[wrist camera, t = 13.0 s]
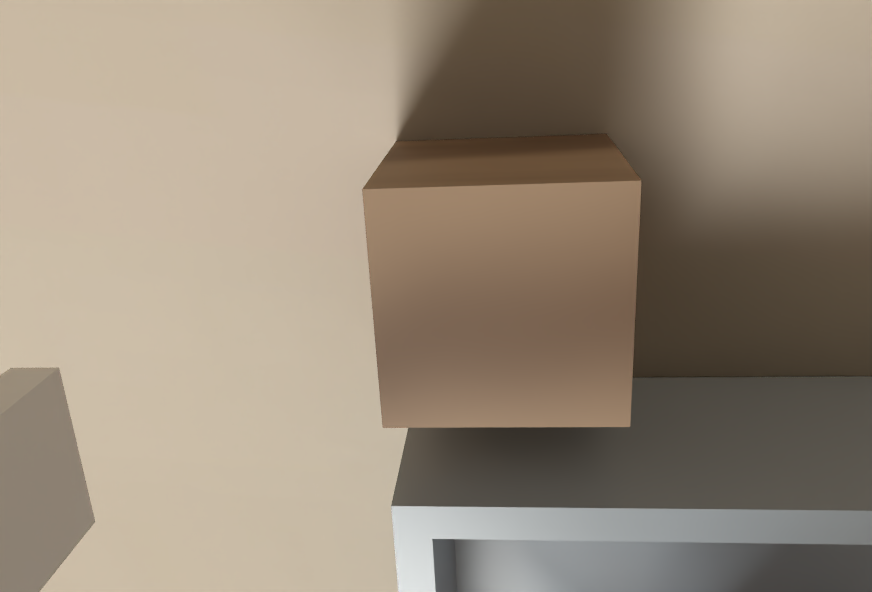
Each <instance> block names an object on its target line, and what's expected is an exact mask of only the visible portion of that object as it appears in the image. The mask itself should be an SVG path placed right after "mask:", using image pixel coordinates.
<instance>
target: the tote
mask: <svg viewBox="0 0 872 592" xmlns="http://www.w3.org/2000/svg"><path fill="white" fill-rule="evenodd" d="M391 509H392V521H393V533H394V545H395V557H396V569H397V581H398V592H872V376H834V377H660V378H632V399H631V421H630V427H463V428H408V432H407V437H406V441H405V446H404V451H403V455H402V460H401V464H400V469H399V473H398V478H397V482H396V487H395V491H394V496H393V501H392V505H391Z"/></svg>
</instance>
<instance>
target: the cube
mask: <svg viewBox="0 0 872 592" xmlns="http://www.w3.org/2000/svg"><path fill="white" fill-rule="evenodd" d="M641 182H642V181H641V179H640V178H639V177H638V175H637V174H636V172H635V171H634V170H633V168H632V167H631V166H630V164H629V163H628V162H627V160H626V159H625V158H624V156H623V155H622V154H621V152H620V151H619V150H618V148H617V147H616V146H615V144H614V143H613V142H612V140H611V139H610V138H609V136H608V135H607V134H585V135H558V136H530V137H502V138H474V139H446V140H418V141H396V142H395V144H394V145H393V147H392V148H391V149H390V151H389V152H388V154H387V155H386V156H385V158H384V159H383V161H382V162H381V164H380V165H379V166H378V168H377V169H376V171H375V172H374V173H373V175H372V176H371V178H370V179H369V181H368V182H367V183H366V185H365V186H364V188H363V189H362V191H363V203H364V215H365V226H366V238H367V250H368V262H369V273H370V285H371V297H372V308H373V320H374V332H375V343H376V355H377V367H378V379H379V390H380V402H381V414H382V425H383V428H463V427H630V421H631V399H632V377H633V356H634V334H635V312H636V290H637V269H638V247H639V225H640V204H641Z"/></svg>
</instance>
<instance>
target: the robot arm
mask: <svg viewBox="0 0 872 592" xmlns="http://www.w3.org/2000/svg"><path fill="white" fill-rule="evenodd" d="M94 522H95V519H94V515H93V510H92V506H91V502H90V498H89V493H88V489H87V485H86V481H85V476H84V472H83V468H82V464H81V459H80V455H79V451H78V447H77V442H76V438H75V434H74V430H73V425H72V421H71V417H70V413H69V408H68V404H67V400H66V396H65V391H64V387H63V383H62V379H61V374H60V370H59V368H10V369H9V370H7V371H6V372H5V373H3V374H2V375H1V376H0V592H39V591H40V590H41V589H42V588H43V586H44V585H45V584H46V583H47V581H48V580H49V579H50V578H51V576H52V575H53V574H54V573H55V571H56V570H57V569H58V568H59V566H60V565H61V564H62V563H63V561H64V560H65V559H66V558H67V556H68V555H69V554H70V553H71V551H72V550H73V549H74V548H75V546H76V545H77V544H78V543H79V541H80V540H81V539H82V538H83V536H84V535H85V534H86V532H87V531H88V530H89V529H90V527H91V526H92V525H93V524H94Z"/></svg>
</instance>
